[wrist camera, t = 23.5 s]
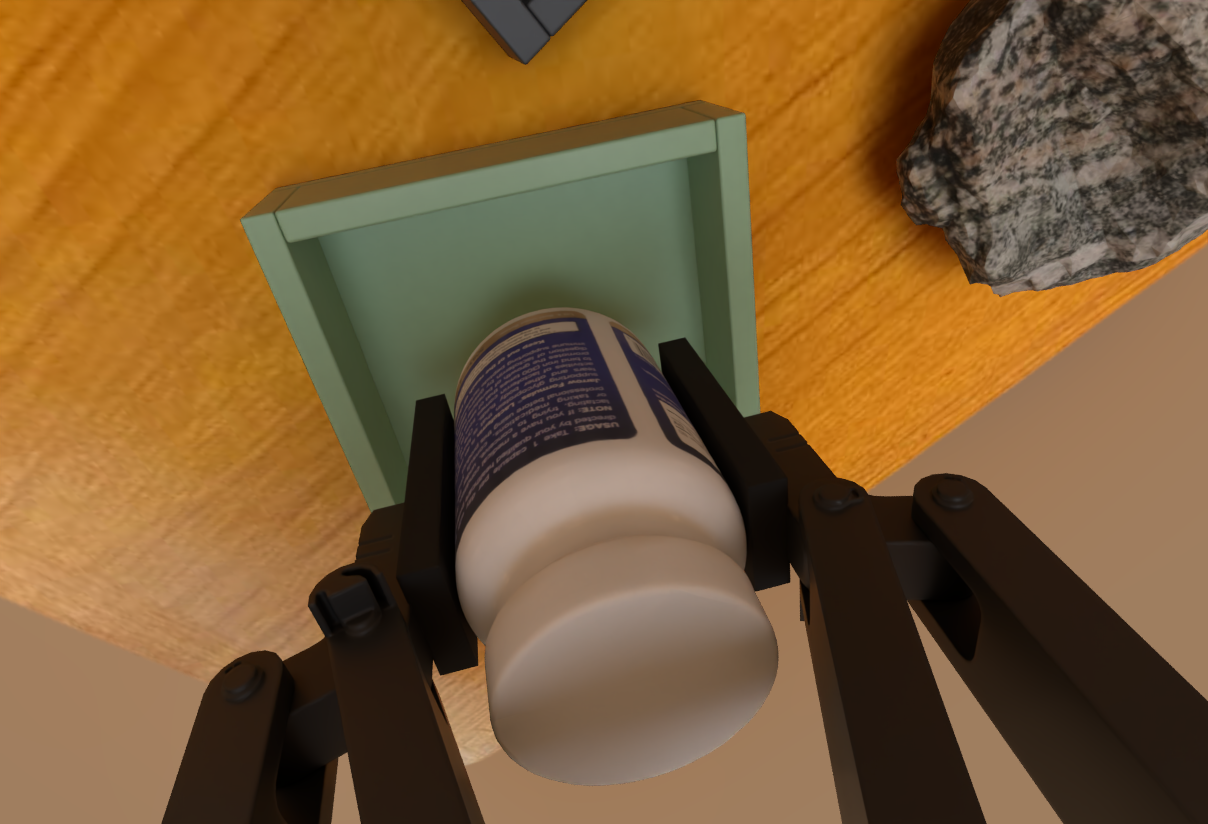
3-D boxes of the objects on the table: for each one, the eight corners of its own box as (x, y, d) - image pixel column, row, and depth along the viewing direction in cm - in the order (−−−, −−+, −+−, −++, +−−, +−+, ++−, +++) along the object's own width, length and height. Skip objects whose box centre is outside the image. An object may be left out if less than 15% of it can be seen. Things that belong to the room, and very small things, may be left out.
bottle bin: (412, 525, 25) (406, 593, 22) (273, 188, 19) (238, 219, 16) (729, 445, 26) (765, 500, 23) (701, 99, 20) (746, 111, 17)
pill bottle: (439, 468, 19) (424, 815, 11) (474, 281, 17) (490, 541, 8) (626, 490, 21) (740, 805, 12) (683, 321, 18) (875, 574, 10)
